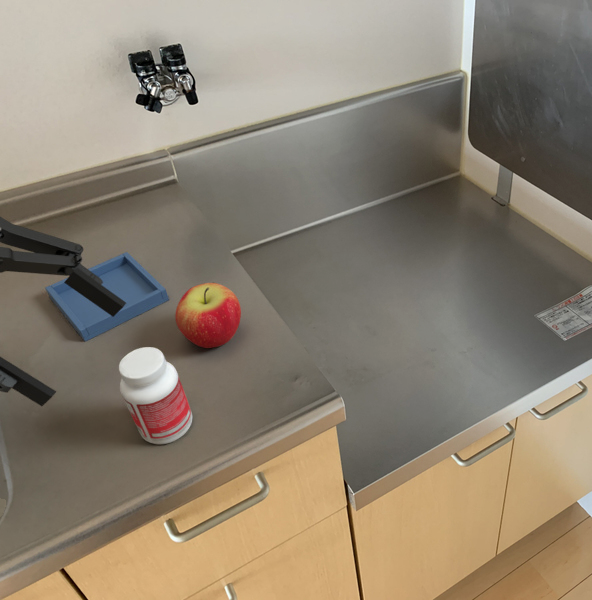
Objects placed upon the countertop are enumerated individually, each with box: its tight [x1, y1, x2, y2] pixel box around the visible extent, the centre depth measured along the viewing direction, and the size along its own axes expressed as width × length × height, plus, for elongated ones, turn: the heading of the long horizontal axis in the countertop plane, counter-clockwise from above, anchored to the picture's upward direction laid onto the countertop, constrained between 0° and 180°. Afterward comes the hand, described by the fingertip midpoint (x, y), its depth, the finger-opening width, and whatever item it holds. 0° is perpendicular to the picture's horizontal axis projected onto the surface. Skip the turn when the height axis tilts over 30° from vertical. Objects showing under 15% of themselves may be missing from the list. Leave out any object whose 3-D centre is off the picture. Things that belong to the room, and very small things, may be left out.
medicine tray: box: [44, 251, 170, 342], centre depth 90 cm, size 13×13×2 cm
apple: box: [174, 282, 242, 349], centre depth 81 cm, size 8×8×10 cm
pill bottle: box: [118, 346, 193, 445], centre depth 70 cm, size 6×6×11 cm
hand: (87, 351), depth 67 cm, fingers open, 13 cm apart
